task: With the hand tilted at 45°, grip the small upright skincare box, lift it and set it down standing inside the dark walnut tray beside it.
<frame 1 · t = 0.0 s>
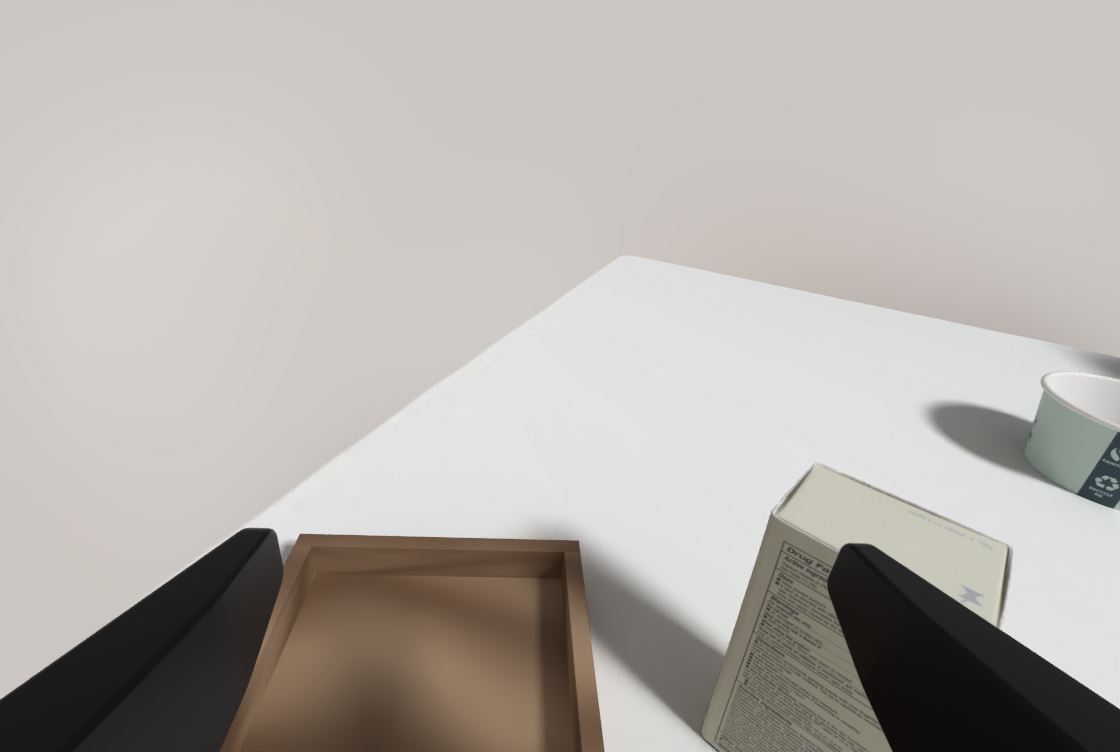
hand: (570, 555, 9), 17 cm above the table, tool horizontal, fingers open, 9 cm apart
food container: (1093, 479, 43), on the table
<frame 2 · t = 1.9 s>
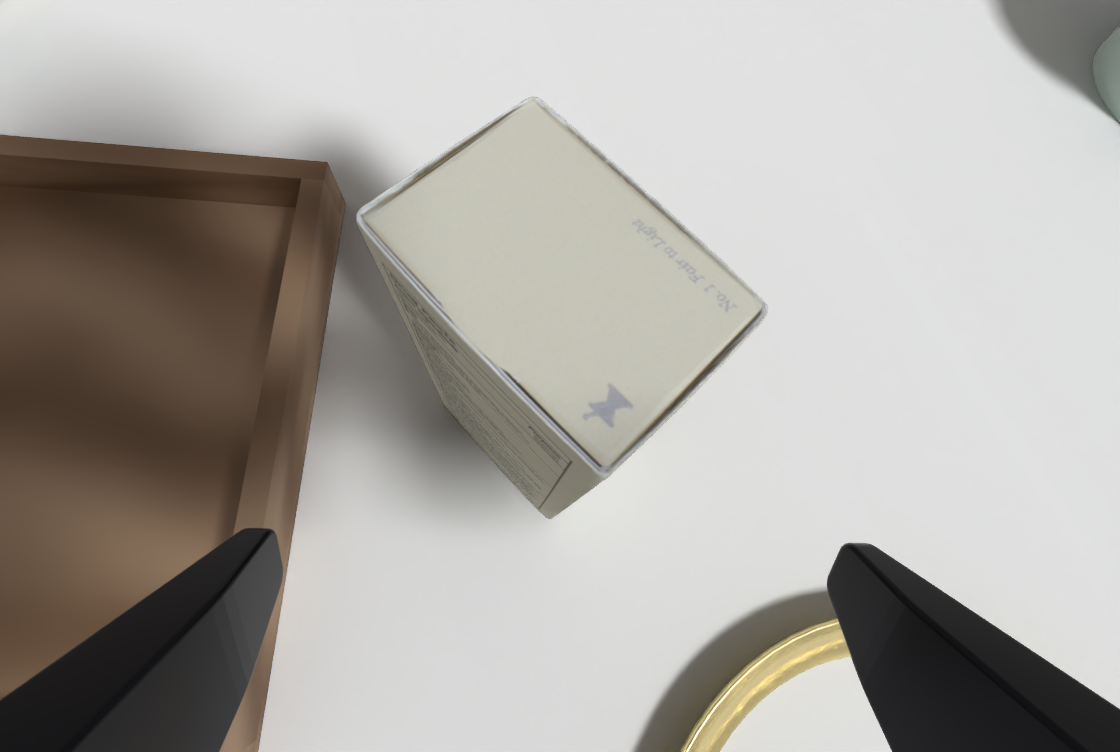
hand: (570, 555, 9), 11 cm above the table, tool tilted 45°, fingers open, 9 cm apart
walnut tray: (97, 433, 19), on the table
skincare box: (530, 423, 21), on the table
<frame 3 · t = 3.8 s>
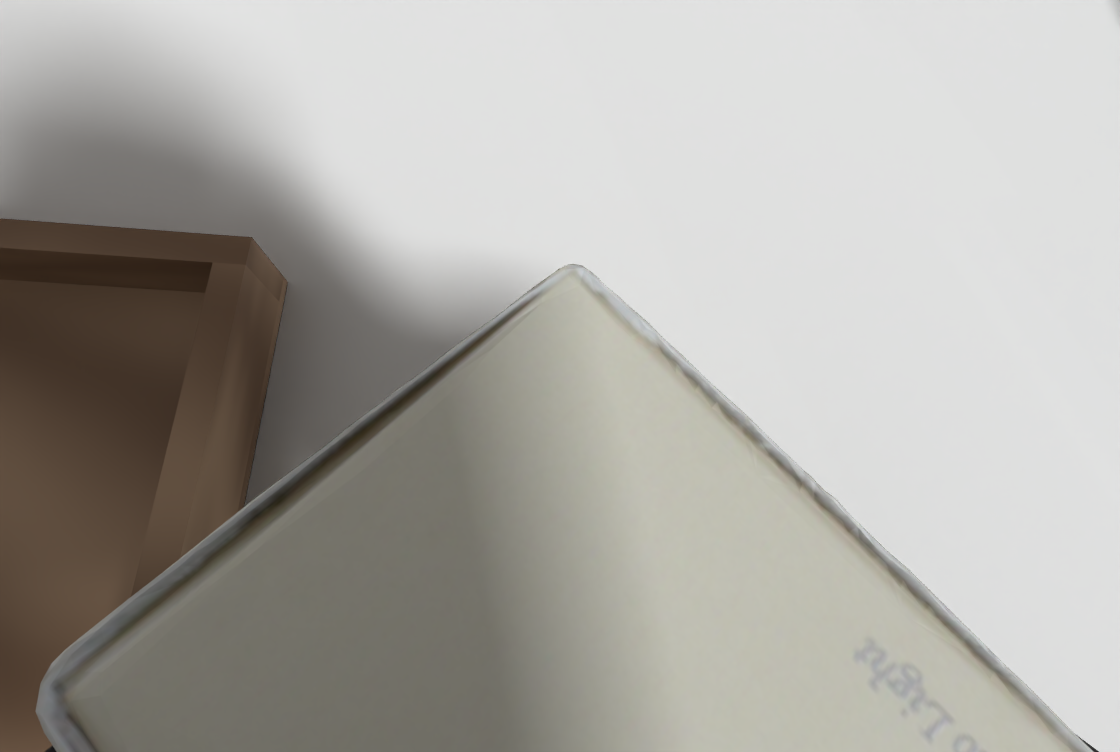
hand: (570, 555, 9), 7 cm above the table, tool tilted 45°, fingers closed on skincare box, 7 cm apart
skincare box: (539, 605, 15), on the table, touching gripper
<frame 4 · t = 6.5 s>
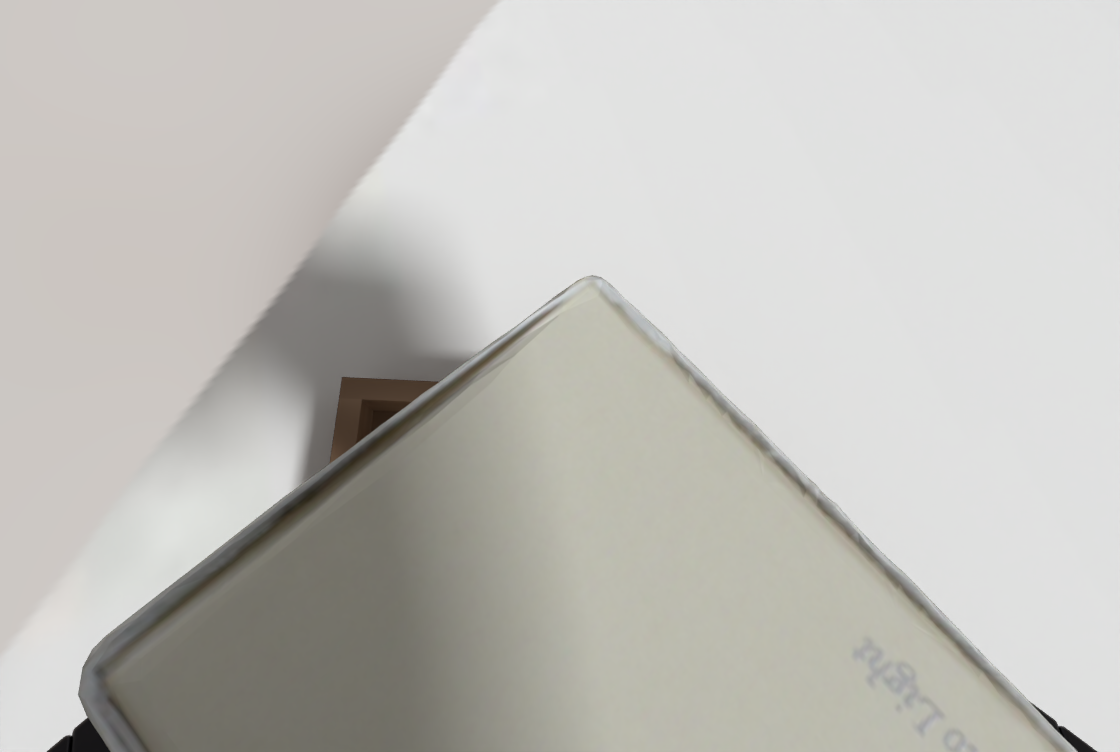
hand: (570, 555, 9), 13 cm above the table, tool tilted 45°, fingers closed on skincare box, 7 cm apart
walnut tray: (519, 665, 20), on the table
skincare box: (533, 603, 15), point 6 cm above the table, touching gripper
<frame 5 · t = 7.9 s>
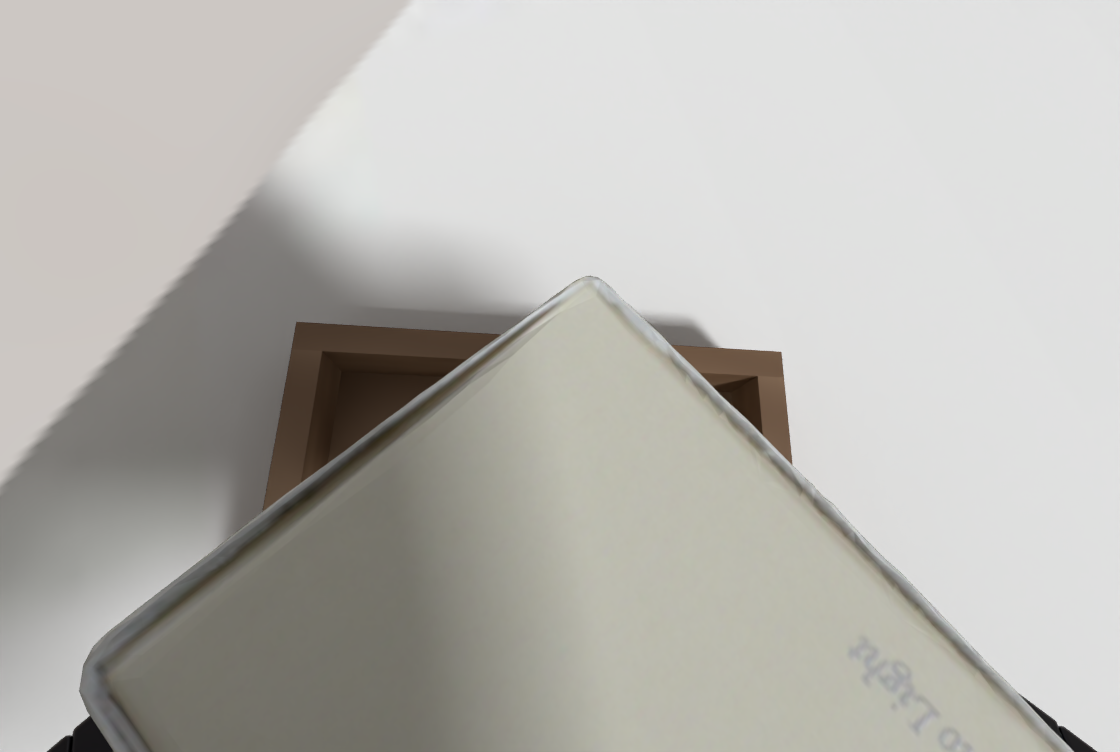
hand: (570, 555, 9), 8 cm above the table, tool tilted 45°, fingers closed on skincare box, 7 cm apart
walnut tray: (530, 705, 15), on the table
skincare box: (534, 603, 15), point 1 cm above the table, touching gripper
when the fingers open (8 cm above the table, at t = 8.5 s): skincare box stays where it is, resting on walnut tray.
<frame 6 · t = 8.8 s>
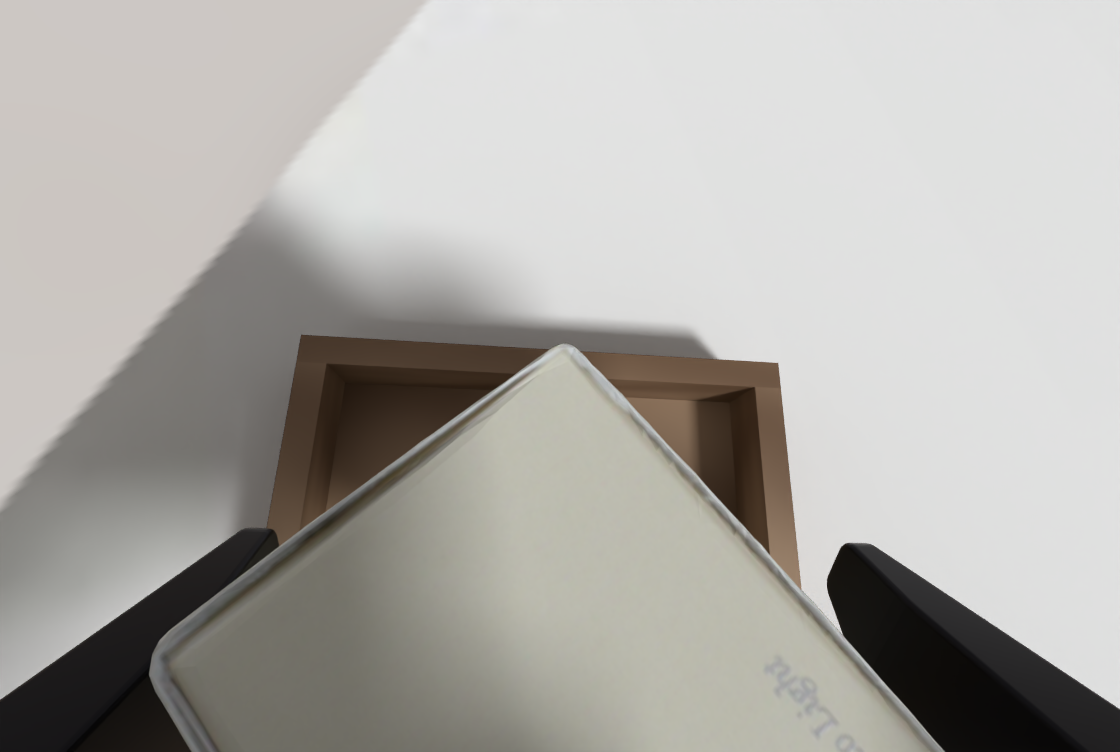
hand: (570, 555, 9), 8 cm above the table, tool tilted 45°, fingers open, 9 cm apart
walnut tray: (531, 713, 15), on the table
skincare box: (533, 608, 16), resting on walnut tray
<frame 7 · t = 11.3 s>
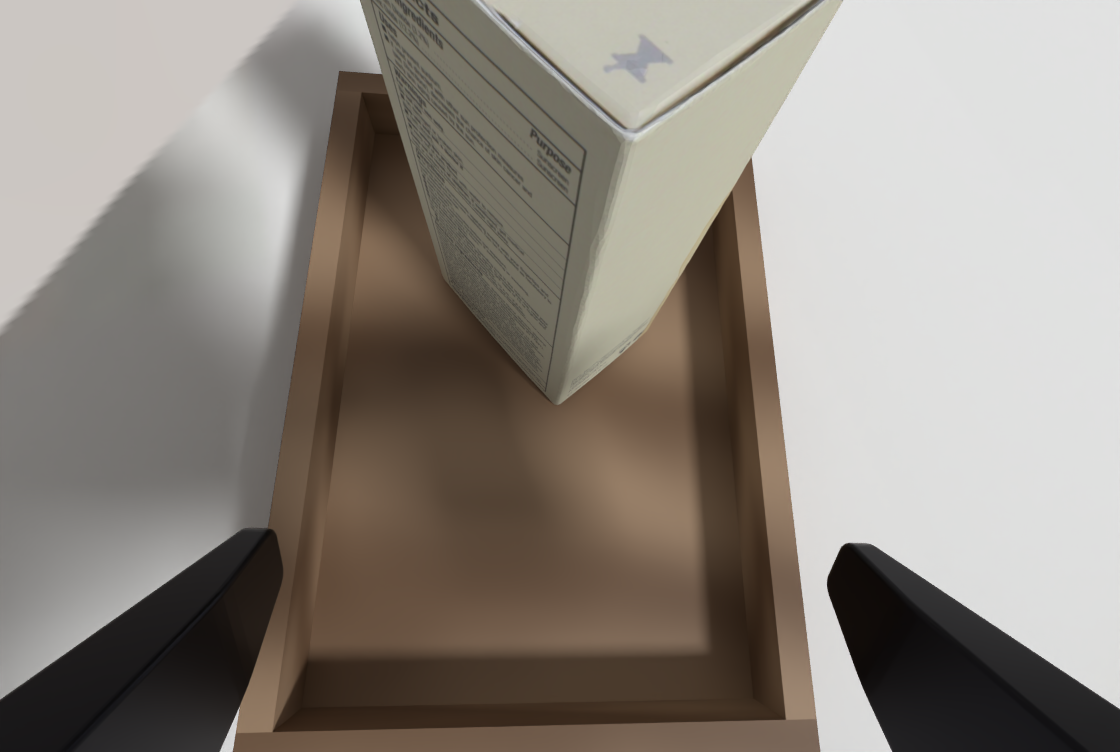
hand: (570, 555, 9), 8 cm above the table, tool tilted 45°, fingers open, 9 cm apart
walnut tray: (540, 386, 18), on the table
skincare box: (539, 305, 18), resting on walnut tray
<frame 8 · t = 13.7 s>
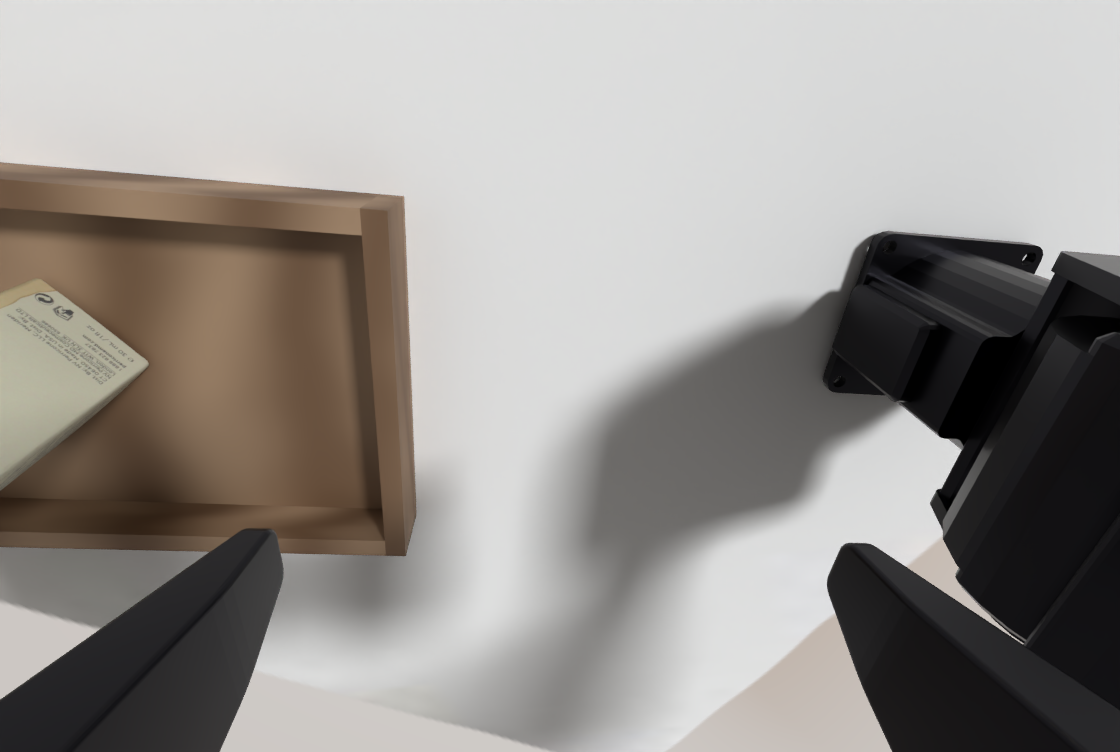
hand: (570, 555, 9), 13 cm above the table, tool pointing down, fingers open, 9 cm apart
walnut tray: (142, 364, 20), on the table
skincare box: (56, 367, 20), resting on walnut tray
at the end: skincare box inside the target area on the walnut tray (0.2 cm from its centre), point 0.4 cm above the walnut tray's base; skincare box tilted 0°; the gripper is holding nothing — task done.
